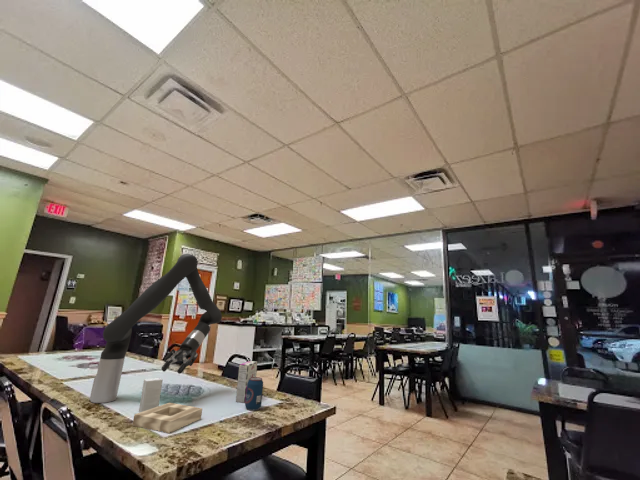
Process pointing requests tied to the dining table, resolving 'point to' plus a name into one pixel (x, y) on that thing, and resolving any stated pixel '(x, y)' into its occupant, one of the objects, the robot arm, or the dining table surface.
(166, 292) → the robot arm
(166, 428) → the socket block
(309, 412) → the dining table surface
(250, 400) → the soda can
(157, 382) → the skincare box
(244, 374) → the candy bar box
